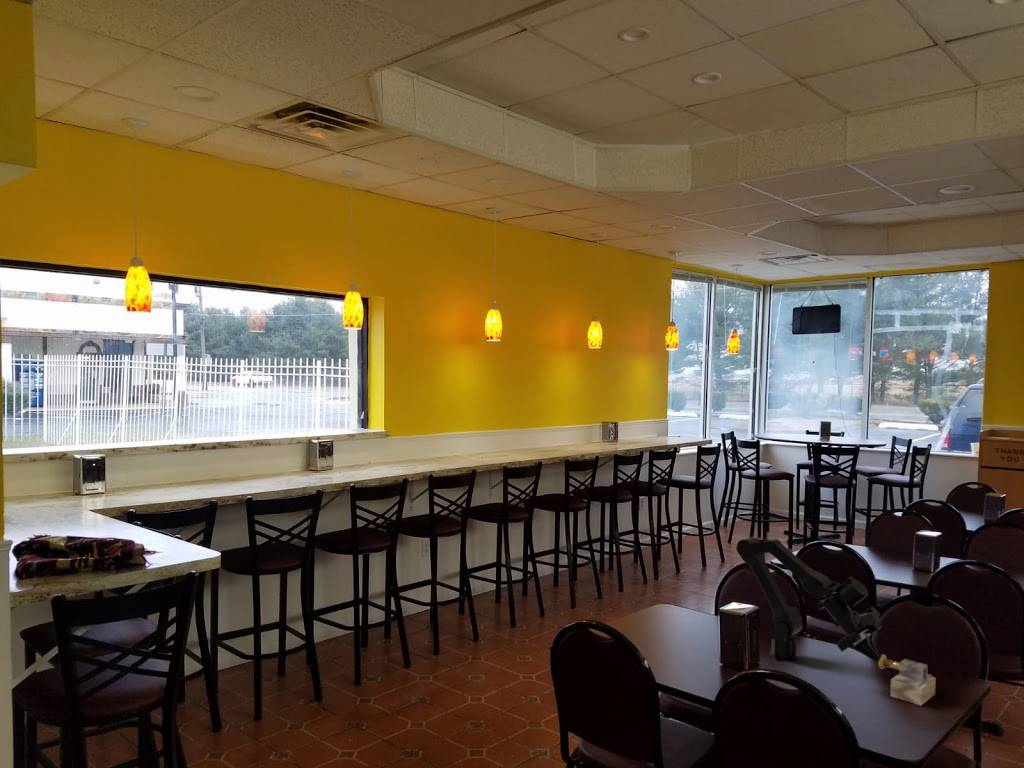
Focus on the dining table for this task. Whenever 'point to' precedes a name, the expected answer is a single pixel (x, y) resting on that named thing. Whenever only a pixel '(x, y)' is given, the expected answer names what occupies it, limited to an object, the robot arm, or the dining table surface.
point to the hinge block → (913, 683)
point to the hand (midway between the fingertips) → (880, 661)
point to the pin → (887, 663)
